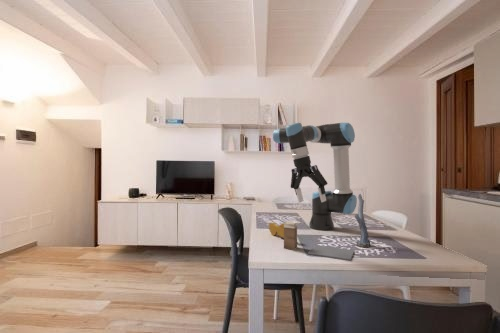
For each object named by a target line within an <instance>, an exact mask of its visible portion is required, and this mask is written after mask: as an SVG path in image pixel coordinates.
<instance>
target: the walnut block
mask: <svg viewBox="0 0 500 333" xmlns="http://www.w3.org/2000/svg"><path fill="white" fill-rule="evenodd" d="M297 248H298V222H297V221H288V220H287V221H286V222H284V237H283V249H284V250H285V249H286V250H287V249H288V250H293V251H294V250H296V249H297Z"/></svg>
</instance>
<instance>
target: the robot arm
mask: <svg viewBox="0 0 500 333" xmlns="http://www.w3.org/2000/svg"><path fill="white" fill-rule="evenodd" d="M355 138H356V134H355V129H354V128H353V125H352V124H351V123H349V122H338V123H328V124H321V125H316V126H314V125H304V126H303V125H302V122H295V123H291V124H288V125H286V126H285V127H284V128H276V129H274V130H273V132H272V140H273V142H275V143H276V144H287V143H288V144H289V148H290V151H291V156H292V158H293V164H294V167H295V168H291V171H290V172H291V177H290V178H291V179H290V180H291V181H290V188H291V189H294V192H295V195H296V197H297V201H298V203H303V202H304V198H303V194H302V189H301V187H300V185H301V183H302V180H303V178H310V179H311V180H312V181H313V182H314V183H315V184H316V185H317V190H318V191H315V192H313V193H312V197H311V206H312V207H311V218H310V221H309V223H308V224H309V225H308V226H309V228H310V229H313V230H317V231H331V230H334V228H335V224H334V221H333V218H332V213H334V214H341V215H342V214H343V215H351V214H353V213H354V212H355V210H356V207H357V203H358V202H357V201H358V200H357V198H358V197H357V195H355V194H354V193H353V190H352V189H351V183H350V182H351V181H350V155H349V154H350V151H349V149H350V148H351V146H352V143H354V142H355ZM308 142H310V143H313V144H314V143H316V144H330V148H332V149H333V151H332V152H333V171H334V172H333V175H334V177H333V178H334V189H333V190H332V191H331V190H326V189H325V186H327V185H328V182H327V180H326V179H325V176H323V174H322V172H321V171H320V169H319V168H318V165H317V164H314V165H311V164H312V162H311V157H310V155H309V154H310V153H309V148H308V145H307V143H308Z"/></svg>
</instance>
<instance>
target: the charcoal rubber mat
mask: <svg viewBox="0 0 500 333" xmlns="http://www.w3.org/2000/svg"><path fill="white" fill-rule="evenodd" d="M354 253H355V250H354V249H348V248H341V247H334V246H325V245H318V244H315V245H314V246H313V247H311V249H310V250H309V251H308V252H307V255H310V256H317V257H321V258H322V257H323V258H328V259H329V258H330V259H337V260H342V261H344V260H345V261H351V260H352V258H353V256H354Z"/></svg>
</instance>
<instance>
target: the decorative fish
mask: <svg viewBox="0 0 500 333" xmlns="http://www.w3.org/2000/svg"><path fill="white" fill-rule="evenodd" d="M284 223H285V222H284ZM284 223H280V225H278V224H276V223H275V222H269V223H268V230H269V232H270V235H271V236H273V237H274V236H279V237H281V238H283V239H284Z"/></svg>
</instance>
